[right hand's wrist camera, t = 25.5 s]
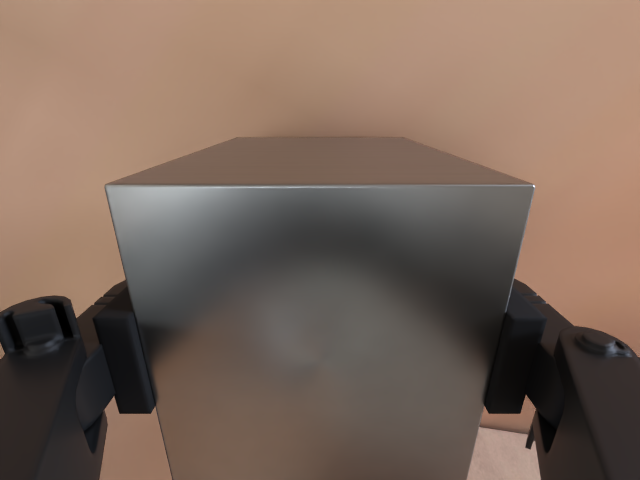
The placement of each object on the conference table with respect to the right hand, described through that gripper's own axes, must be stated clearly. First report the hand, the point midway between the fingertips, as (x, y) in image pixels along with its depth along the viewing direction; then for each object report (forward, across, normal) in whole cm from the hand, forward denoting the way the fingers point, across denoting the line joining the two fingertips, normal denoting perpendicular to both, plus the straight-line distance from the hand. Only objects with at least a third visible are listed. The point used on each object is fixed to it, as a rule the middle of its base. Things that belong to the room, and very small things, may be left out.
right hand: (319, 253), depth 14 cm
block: (+5, 0, 0) cm, 5 cm away
